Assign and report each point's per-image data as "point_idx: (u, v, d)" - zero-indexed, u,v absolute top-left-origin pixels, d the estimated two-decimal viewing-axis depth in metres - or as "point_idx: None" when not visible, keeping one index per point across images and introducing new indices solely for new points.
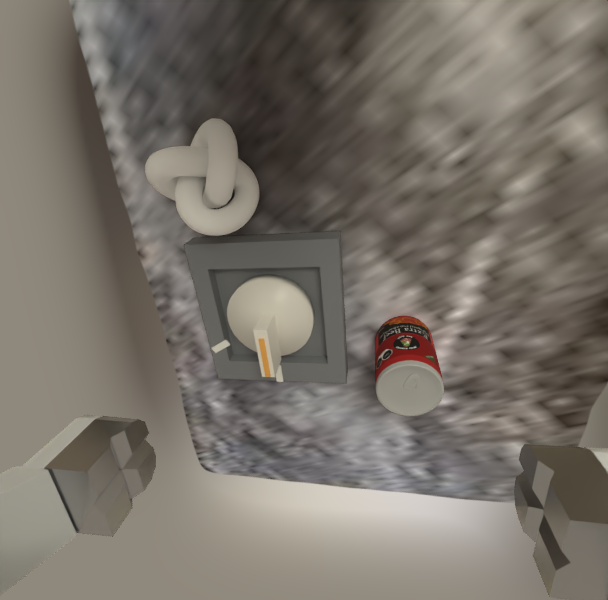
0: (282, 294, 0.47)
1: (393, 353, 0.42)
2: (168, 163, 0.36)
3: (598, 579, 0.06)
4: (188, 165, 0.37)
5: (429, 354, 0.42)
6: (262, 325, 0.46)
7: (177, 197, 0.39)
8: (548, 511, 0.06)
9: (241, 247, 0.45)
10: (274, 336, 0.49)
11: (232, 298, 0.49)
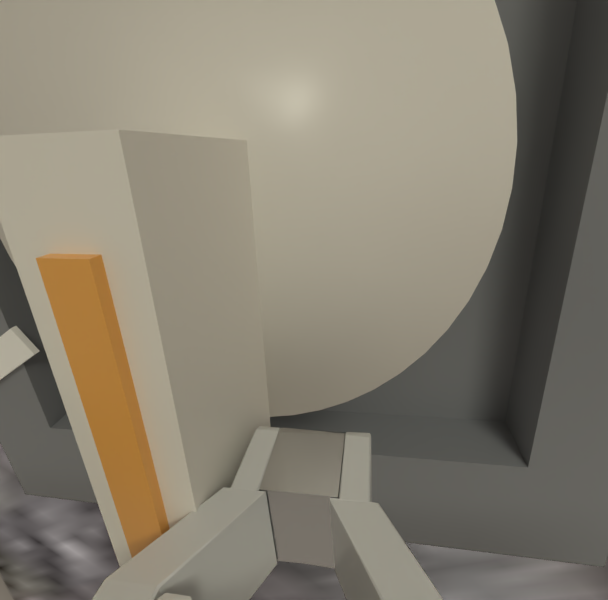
0: None
1: None
2: None
3: (328, 545, 0.06)
4: None
5: None
6: None
7: None
8: None
9: None
10: (238, 292, 0.07)
11: None
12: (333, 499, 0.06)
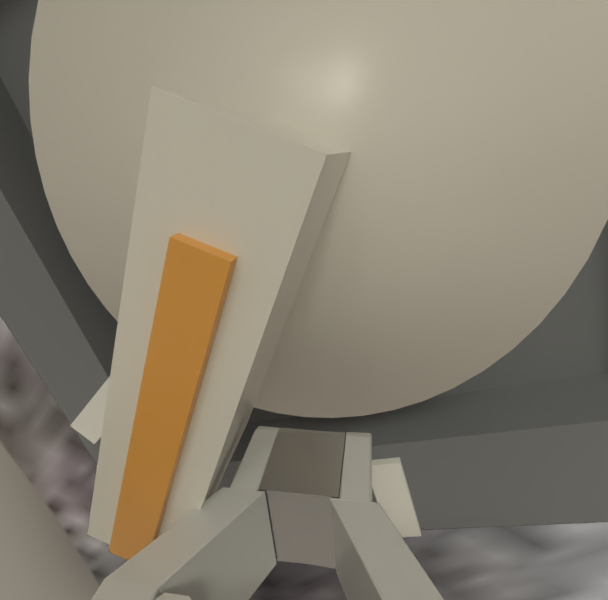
0: None
1: None
2: None
3: (328, 546, 0.06)
4: None
5: None
6: (270, 127, 0.04)
7: None
8: None
9: None
10: (291, 297, 0.07)
11: None
12: (334, 499, 0.06)
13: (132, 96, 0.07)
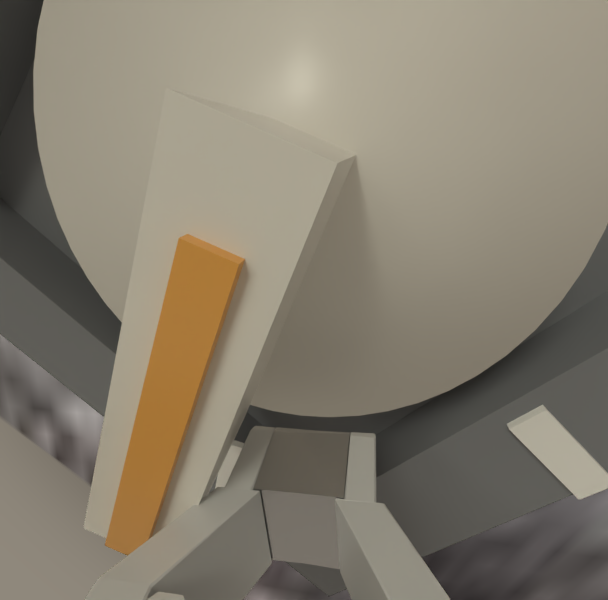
0: (520, 9, 0.06)
1: None
2: None
3: (332, 545, 0.06)
4: None
5: None
6: (280, 131, 0.04)
7: None
8: None
9: None
10: (292, 297, 0.07)
11: None
12: (339, 500, 0.06)
13: (138, 91, 0.07)
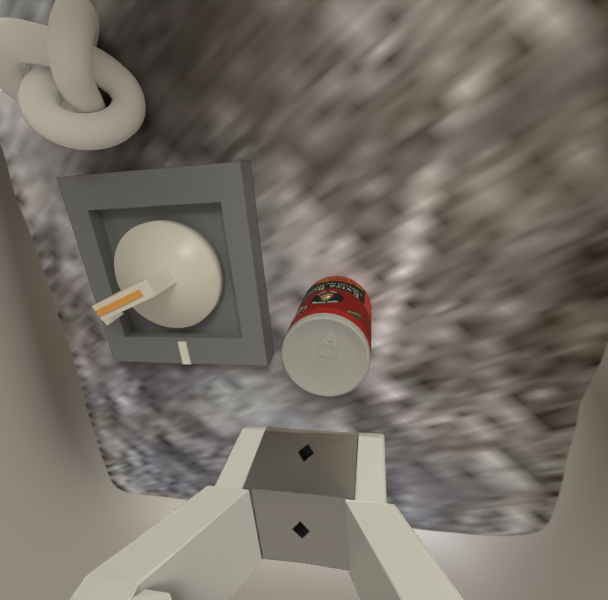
0: (205, 284, 0.38)
1: (306, 309, 0.32)
2: None
3: (342, 547, 0.06)
4: (25, 40, 0.28)
5: (354, 310, 0.32)
6: (157, 284, 0.36)
7: (19, 90, 0.30)
8: None
9: (125, 178, 0.36)
10: None
11: (165, 225, 0.37)
12: (349, 501, 0.06)
13: (149, 245, 0.38)
